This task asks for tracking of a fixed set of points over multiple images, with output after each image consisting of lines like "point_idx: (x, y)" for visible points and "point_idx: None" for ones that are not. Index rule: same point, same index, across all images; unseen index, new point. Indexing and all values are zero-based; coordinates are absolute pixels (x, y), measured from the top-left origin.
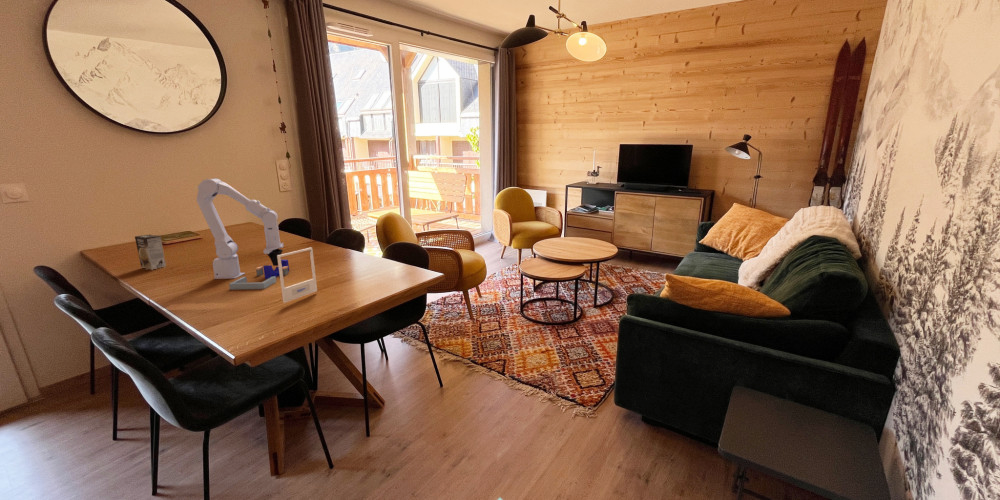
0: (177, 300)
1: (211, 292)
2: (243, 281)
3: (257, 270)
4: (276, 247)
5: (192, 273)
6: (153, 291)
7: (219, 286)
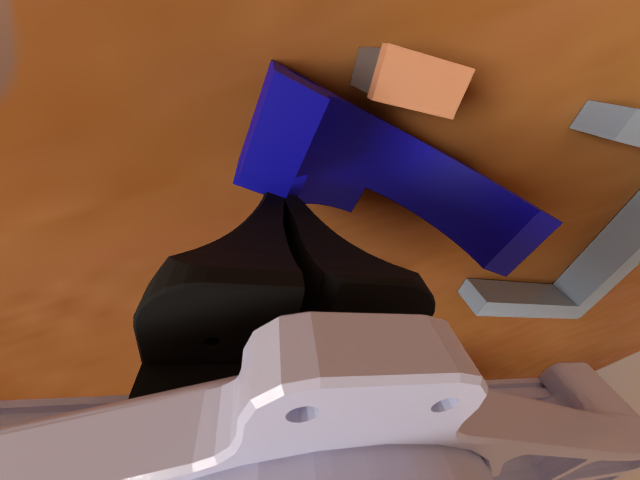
0: None
1: (542, 334)
2: (503, 290)
3: None
4: (523, 436)
5: None
6: None
7: (469, 345)
